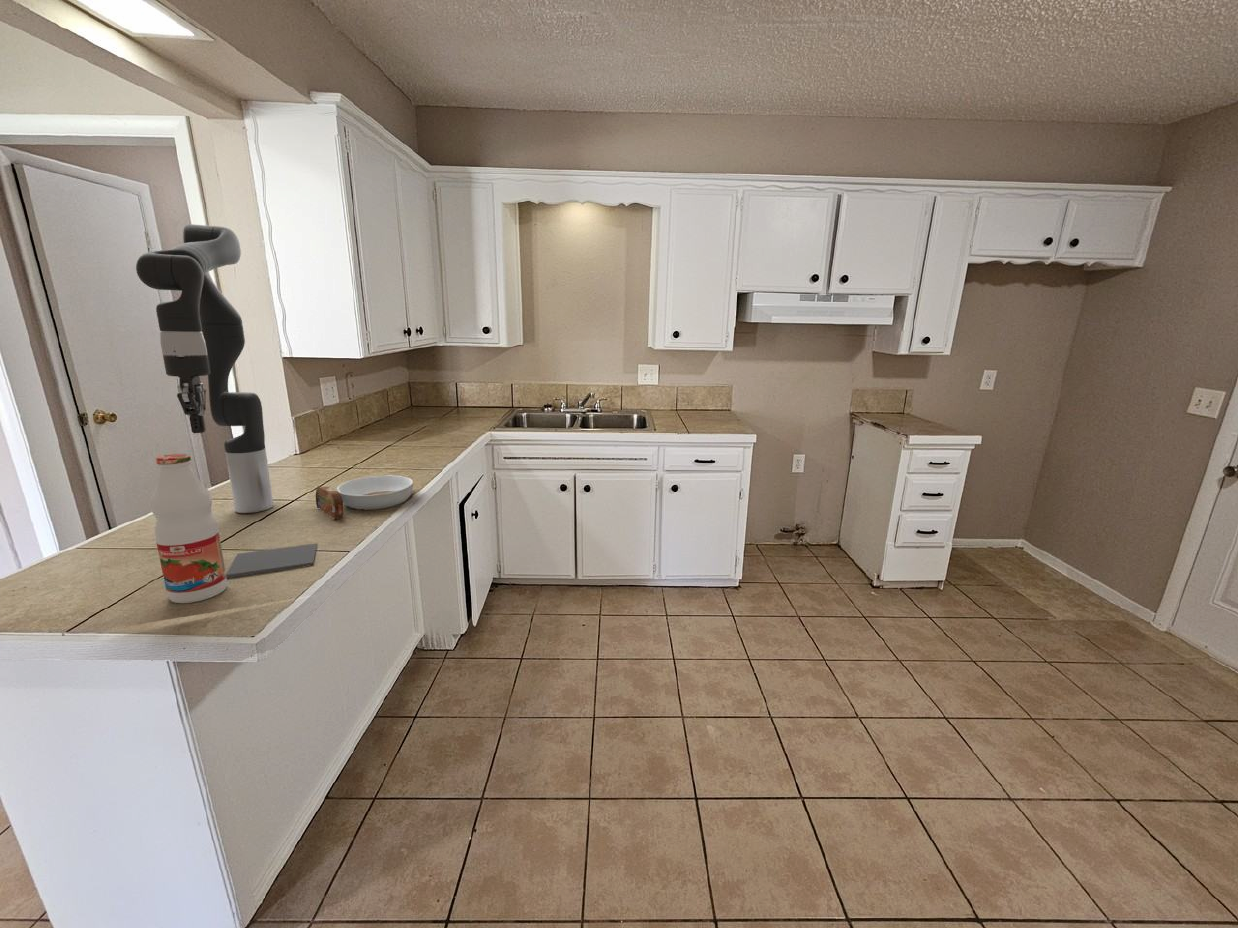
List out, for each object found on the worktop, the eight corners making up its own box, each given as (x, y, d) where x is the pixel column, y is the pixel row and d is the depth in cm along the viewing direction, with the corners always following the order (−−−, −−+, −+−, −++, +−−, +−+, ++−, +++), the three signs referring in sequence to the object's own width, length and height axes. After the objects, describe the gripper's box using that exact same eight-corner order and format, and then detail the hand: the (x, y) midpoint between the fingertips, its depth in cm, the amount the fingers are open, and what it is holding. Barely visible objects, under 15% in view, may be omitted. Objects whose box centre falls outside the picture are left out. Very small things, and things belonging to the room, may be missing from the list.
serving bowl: (322, 513, 150) (319, 490, 149) (373, 493, 170) (371, 472, 168) (383, 521, 145) (381, 497, 143) (428, 499, 165) (427, 478, 163)
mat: (238, 556, 120) (237, 553, 120) (317, 546, 127) (317, 543, 127) (226, 578, 110) (225, 574, 109) (313, 565, 116) (313, 562, 116)
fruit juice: (237, 580, 109) (215, 450, 102) (212, 602, 100) (186, 461, 93) (186, 583, 107) (160, 451, 100) (156, 606, 98) (125, 462, 91)
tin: (316, 512, 151) (312, 484, 149) (328, 510, 153) (324, 482, 151) (335, 525, 141) (331, 496, 139) (347, 523, 143) (344, 493, 141)
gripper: (172, 352, 116) (185, 428, 120) (153, 354, 105) (169, 438, 109) (213, 352, 120) (225, 426, 124) (199, 354, 108) (213, 436, 112)
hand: (199, 432), depth 116 cm, fingers closed
